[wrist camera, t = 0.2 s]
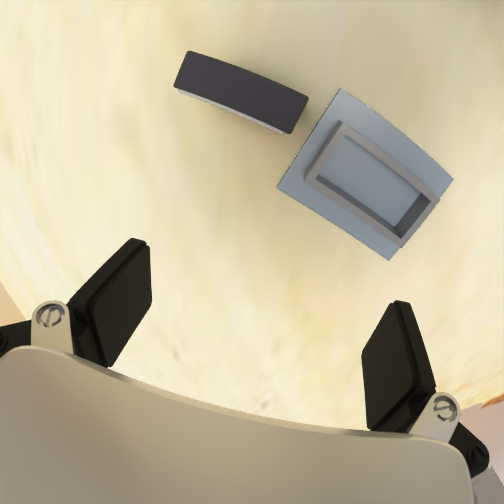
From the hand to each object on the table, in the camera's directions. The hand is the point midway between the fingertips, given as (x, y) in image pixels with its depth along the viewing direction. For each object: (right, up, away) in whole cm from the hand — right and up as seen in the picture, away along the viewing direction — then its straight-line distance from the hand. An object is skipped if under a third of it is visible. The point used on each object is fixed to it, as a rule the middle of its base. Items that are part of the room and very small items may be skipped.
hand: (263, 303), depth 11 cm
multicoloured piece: (+1, +22, +23) cm, 32 cm away
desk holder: (+15, +12, +26) cm, 32 cm away
